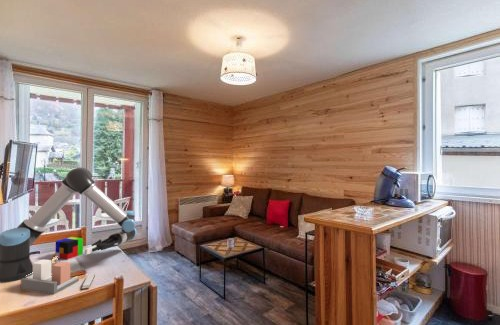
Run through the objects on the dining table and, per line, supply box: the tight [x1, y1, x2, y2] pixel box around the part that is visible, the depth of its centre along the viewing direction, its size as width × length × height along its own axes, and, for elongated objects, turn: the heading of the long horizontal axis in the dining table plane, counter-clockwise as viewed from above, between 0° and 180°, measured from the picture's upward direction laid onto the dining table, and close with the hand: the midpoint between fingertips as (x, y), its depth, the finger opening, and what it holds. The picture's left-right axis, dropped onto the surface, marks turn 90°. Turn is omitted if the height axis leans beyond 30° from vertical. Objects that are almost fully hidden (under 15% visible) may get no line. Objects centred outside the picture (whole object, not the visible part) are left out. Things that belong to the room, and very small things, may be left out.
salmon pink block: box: [51, 260, 72, 285], centre depth 121 cm, size 6×5×9 cm
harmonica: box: [80, 274, 96, 291], centre depth 125 cm, size 15×3×2 cm, turn 21°
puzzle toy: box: [55, 236, 84, 260], centre depth 159 cm, size 10×10×10 cm
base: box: [20, 274, 80, 295], centre depth 122 cm, size 13×18×5 cm
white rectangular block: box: [31, 258, 53, 280], centre depth 123 cm, size 6×5×9 cm
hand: (85, 251), depth 134 cm, fingers closed
